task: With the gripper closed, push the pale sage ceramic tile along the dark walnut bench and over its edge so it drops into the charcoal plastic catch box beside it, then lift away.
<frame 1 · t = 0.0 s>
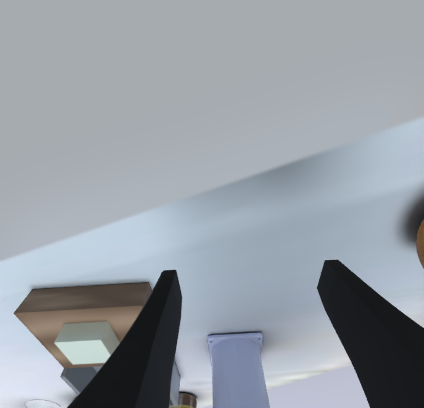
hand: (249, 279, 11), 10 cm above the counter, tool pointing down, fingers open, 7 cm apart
sauce bottle: (181, 395, 45), on the counter
champagne flute: (43, 404, 46), on the counter
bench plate: (107, 317, 30), on the counter
catch box: (132, 362, 36), on the counter
tile: (93, 334, 26), point 3 cm above the counter, touching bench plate
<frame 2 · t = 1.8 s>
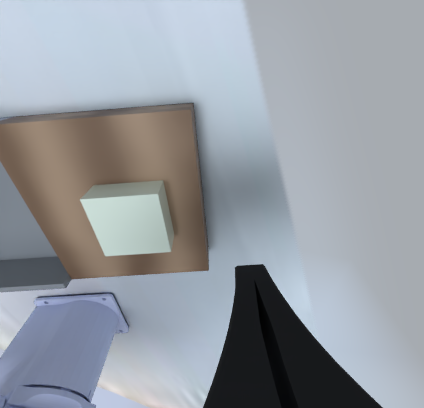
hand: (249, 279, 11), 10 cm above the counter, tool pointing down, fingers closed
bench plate: (129, 194, 20), on the counter
tile: (137, 211, 17), point 3 cm above the counter, touching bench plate
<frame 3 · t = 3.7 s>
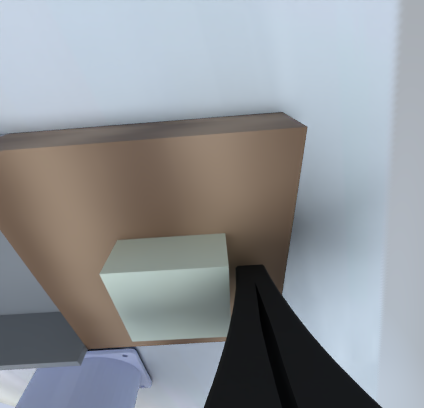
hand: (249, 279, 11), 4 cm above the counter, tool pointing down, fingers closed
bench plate: (169, 237, 14), on the counter
tile: (178, 273, 11), point 3 cm above the counter, touching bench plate, gripper
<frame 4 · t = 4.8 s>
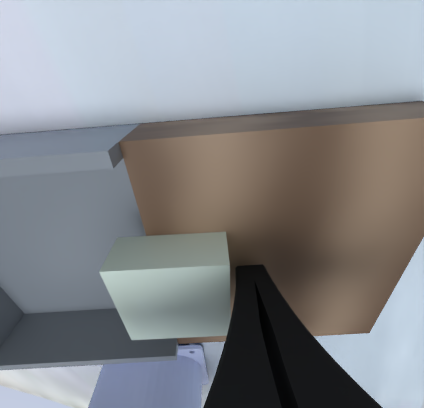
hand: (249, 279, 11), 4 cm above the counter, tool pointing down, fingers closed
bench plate: (269, 230, 14), on the counter
catch box: (66, 244, 14), on the counter
tile: (178, 272, 11), point 3 cm above the counter, touching gripper
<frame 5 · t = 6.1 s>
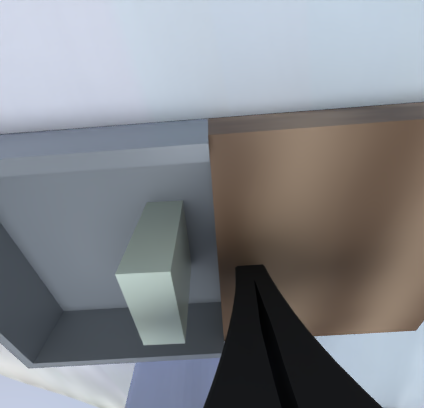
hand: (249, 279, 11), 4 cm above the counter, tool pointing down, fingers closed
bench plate: (319, 227, 14), on the counter
catch box: (115, 240, 14), on the counter
tile: (184, 266, 11), point 3 cm above the counter, tilted 90°, touching catch box
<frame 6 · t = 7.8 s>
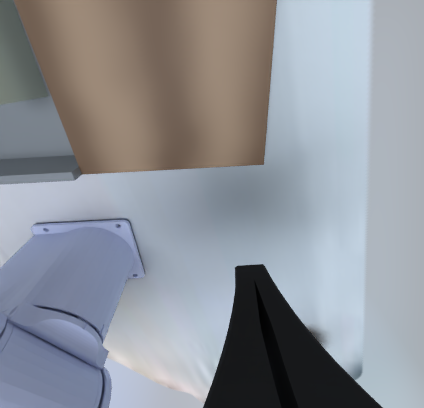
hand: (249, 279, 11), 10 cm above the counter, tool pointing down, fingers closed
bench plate: (163, 53, 15), on the counter
tile: (1, 50, 12), point 3 cm above the counter, tilted 90°, touching catch box
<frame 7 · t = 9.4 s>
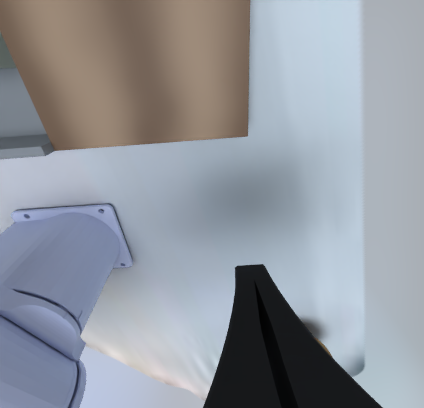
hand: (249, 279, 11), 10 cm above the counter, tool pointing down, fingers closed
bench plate: (136, 16, 14), on the counter
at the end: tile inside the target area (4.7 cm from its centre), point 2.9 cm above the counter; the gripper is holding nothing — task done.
